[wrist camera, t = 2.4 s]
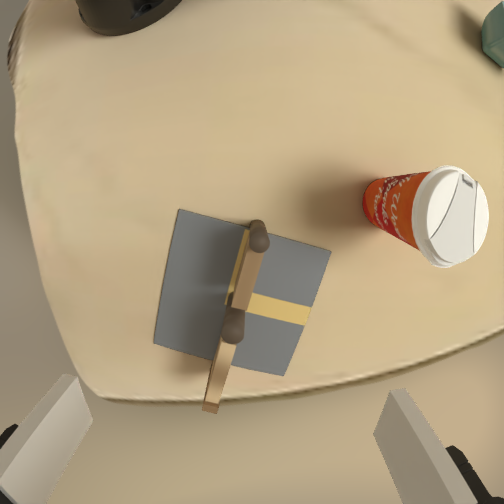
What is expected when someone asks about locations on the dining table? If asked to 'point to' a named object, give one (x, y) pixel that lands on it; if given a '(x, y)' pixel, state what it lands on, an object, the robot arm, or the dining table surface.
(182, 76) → the dining table surface
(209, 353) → the board
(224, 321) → the fixed fence panel and posts
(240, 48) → the dining table surface
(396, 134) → the dining table surface
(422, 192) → the paper cup
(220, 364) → the hinged fence panel
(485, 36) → the flower pot
